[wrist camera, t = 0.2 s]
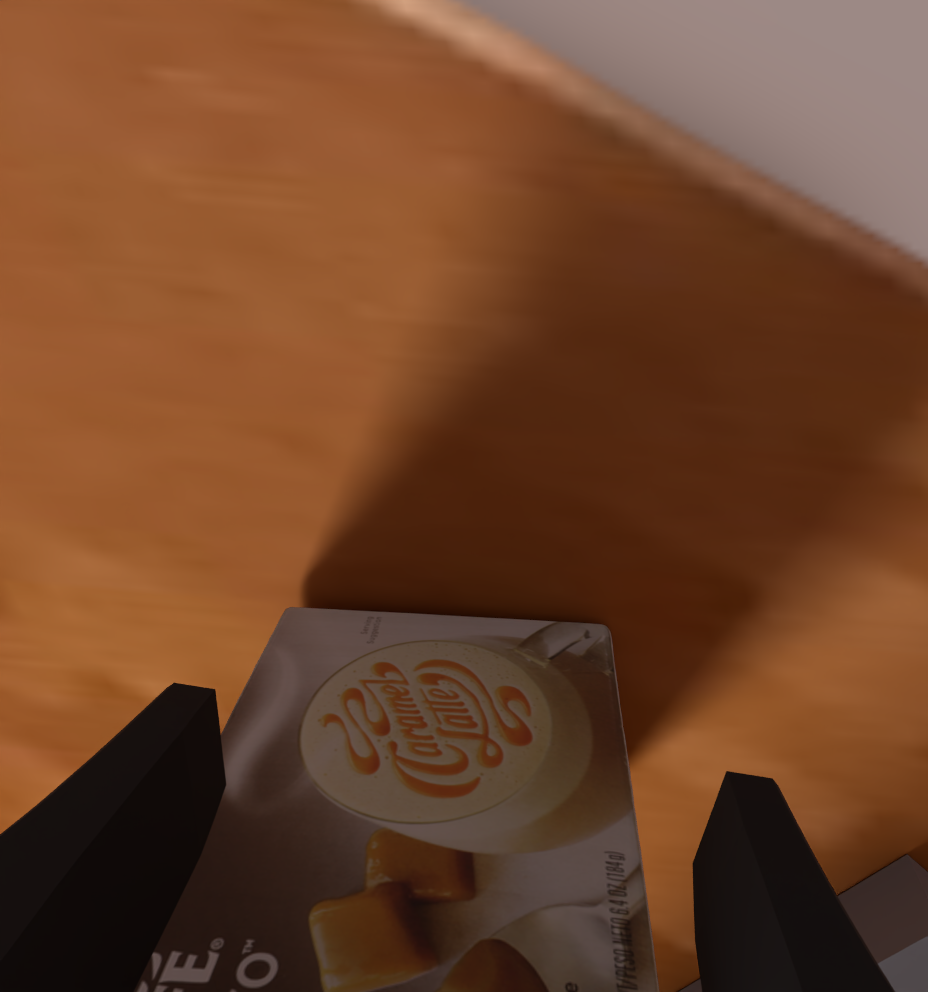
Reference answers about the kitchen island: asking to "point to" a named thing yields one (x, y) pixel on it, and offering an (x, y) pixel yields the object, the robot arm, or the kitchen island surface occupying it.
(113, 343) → the kitchen island surface
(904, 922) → the button panel
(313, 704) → the coffee box
